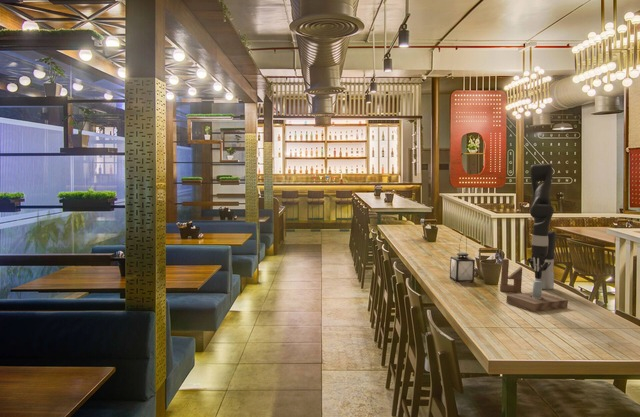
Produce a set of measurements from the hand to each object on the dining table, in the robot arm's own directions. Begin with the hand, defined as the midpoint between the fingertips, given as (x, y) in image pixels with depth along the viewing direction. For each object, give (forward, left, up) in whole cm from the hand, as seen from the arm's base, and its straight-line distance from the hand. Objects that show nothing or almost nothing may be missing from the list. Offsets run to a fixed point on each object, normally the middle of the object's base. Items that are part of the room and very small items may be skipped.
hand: (537, 278), depth 250 cm
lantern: (-2, -60, -14) cm, 62 cm away
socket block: (0, 0, -14) cm, 14 cm away
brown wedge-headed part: (-9, -27, -14) cm, 32 cm away
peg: (0, 0, -14) cm, 14 cm away
